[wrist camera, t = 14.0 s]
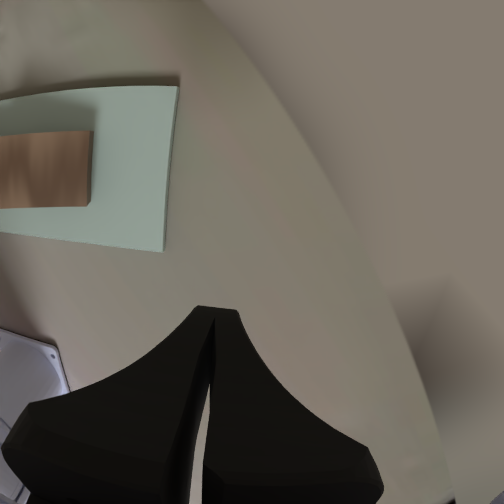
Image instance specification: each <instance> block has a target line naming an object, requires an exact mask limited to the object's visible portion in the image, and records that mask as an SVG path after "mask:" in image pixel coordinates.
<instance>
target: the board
mask: <svg viewBox="0 0 504 504" xmlns="http://www.w3.org/2000/svg"><path fill="white" fill-rule="evenodd" d="M178 94H179V87H178V86H116V87H98V88H84V89H73V90H64V91H56V92H48V93H41V94H34V95H28V96H22V97H17V98H11V99H6V100H1V101H0V136H8V135H18V134H30V133H43V132H60V131H94V137H93V152H92V172H91V202H90V203H89V204H88V206H87V207H39V208H10V209H0V232H5V233H13V234H20V235H28V236H35V237H43V238H50V239H58V240H66V241H73V242H81V243H89V244H97V245H105V246H113V247H121V248H129V249H137V250H145V251H154V252H162V253H163V251H164V250H165V234H166V215H167V199H168V186H169V174H170V162H171V152H172V143H173V133H174V125H175V117H176V109H177V102H178Z"/></svg>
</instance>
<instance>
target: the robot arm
mask: <svg viewBox="0 0 504 504" xmlns="http://www.w3.org/2000/svg"><path fill="white" fill-rule="evenodd" d="M0 349H1V351H0V504H189V498H190V488H191V478H192V469H193V460H194V451H195V444H196V439H197V434H198V430H199V426H200V421H201V417H202V413H203V409H204V405H205V401H206V396H207V392H208V388H209V384H210V414H209V422H208V430H207V437H206V444H205V452H204V459H203V473H202V504H376V502H377V501H378V500H379V498H380V497H381V496H382V494H383V491H384V485H383V482H382V479H381V476H380V473H379V470H378V468H377V465H376V463H375V461H374V459H373V457H372V455H371V453H370V451H369V449H368V447H366V446H364V445H363V444H361V443H359V442H357V441H355V440H353V439H352V438H350V437H348V436H346V435H345V434H343V433H341V432H339V431H337V430H336V429H334V428H333V427H331V426H330V425H328V424H327V423H325V422H324V421H323V420H321V419H320V418H318V417H317V416H316V415H314V414H313V413H312V412H310V411H309V410H308V409H307V408H306V407H305V406H303V405H302V404H301V403H300V402H299V401H298V400H297V399H295V398H294V397H293V396H292V395H291V394H290V393H289V392H288V391H287V390H286V389H285V388H284V387H283V386H282V384H281V383H280V382H279V381H278V380H277V379H276V378H275V376H274V375H273V374H272V373H271V371H270V370H269V369H268V367H267V366H266V365H265V363H264V362H263V360H262V359H261V357H260V356H259V354H258V353H257V351H256V349H255V348H254V346H253V344H252V342H251V340H250V339H249V337H248V335H247V333H246V331H245V329H244V326H243V324H242V321H241V319H240V315H239V313H238V311H237V310H234V309H225V308H216V307H208V306H199V305H198V306H196V307H195V308H194V309H193V310H192V312H191V313H190V314H189V315H188V316H187V317H186V318H185V320H184V321H183V322H182V323H181V324H180V325H179V326H178V327H177V328H176V329H175V330H174V331H173V332H172V333H171V334H170V335H169V336H167V337H166V338H165V339H164V340H163V341H162V342H160V343H159V344H158V345H157V346H156V347H155V348H153V349H152V350H151V351H150V352H148V353H147V354H146V355H144V356H143V357H141V358H140V359H139V360H137V361H136V362H134V363H132V364H131V365H129V366H128V367H126V368H124V369H122V370H120V371H119V372H117V373H115V374H113V375H111V376H109V377H107V378H105V379H103V380H101V381H99V382H96V383H94V384H91V385H89V386H87V387H84V388H81V389H78V390H75V391H73V392H70V391H69V388H68V385H67V382H66V378H65V375H64V372H63V368H62V365H61V361H60V357H59V353H58V350H57V348H56V347H55V346H53V345H50V344H46V343H43V342H39V341H36V340H33V339H30V338H27V337H24V336H21V335H18V334H15V333H12V332H9V331H6V330H3V329H0ZM490 504H504V491H503V492H502V493H500V494H499V495H498V496H497V497H496V498H495V499H494V500H492V501H491V503H490Z"/></svg>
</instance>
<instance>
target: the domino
mask: <svg viewBox="0 0 504 504" xmlns="http://www.w3.org/2000/svg"><path fill="white" fill-rule="evenodd" d="M93 137H94V131H60V132H43V133H30V134H18V135H8V136H0V209H10V208H39V207H87V206H88V204H89V203H90V202H91V172H92V152H93Z"/></svg>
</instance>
